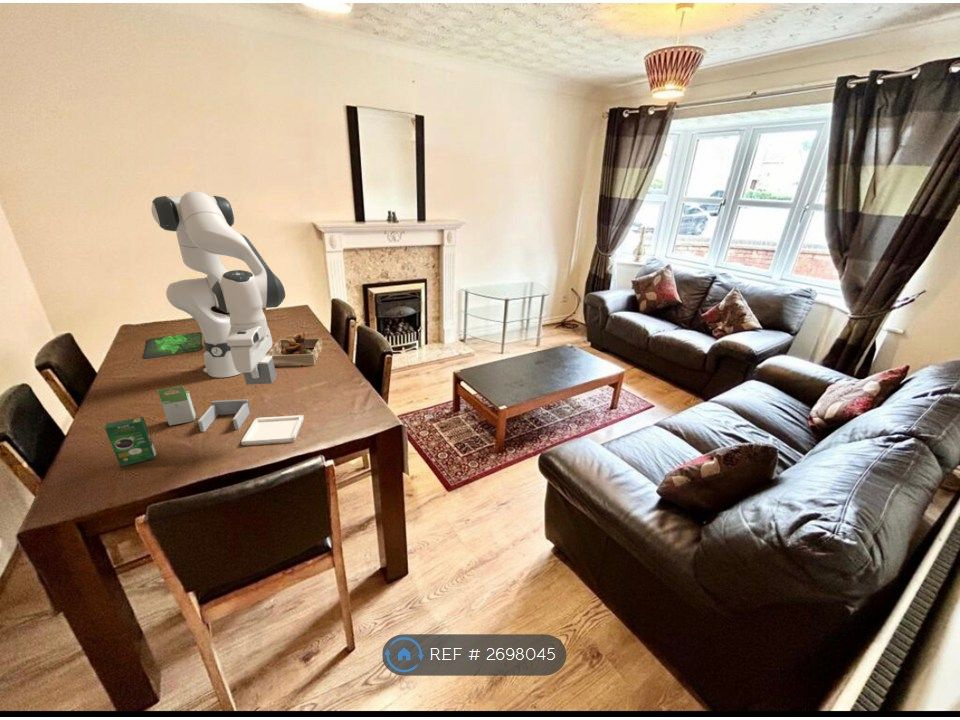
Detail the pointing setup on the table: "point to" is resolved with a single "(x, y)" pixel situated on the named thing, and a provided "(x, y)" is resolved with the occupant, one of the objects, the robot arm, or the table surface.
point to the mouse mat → (173, 345)
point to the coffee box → (130, 441)
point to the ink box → (177, 405)
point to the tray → (273, 430)
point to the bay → (226, 412)
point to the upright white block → (263, 372)
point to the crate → (296, 358)
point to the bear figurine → (296, 346)
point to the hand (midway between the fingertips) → (260, 372)
